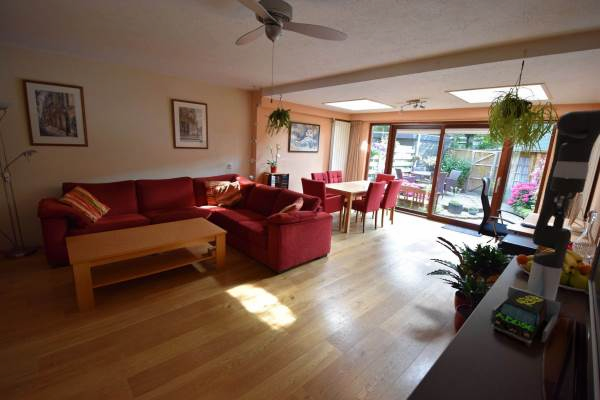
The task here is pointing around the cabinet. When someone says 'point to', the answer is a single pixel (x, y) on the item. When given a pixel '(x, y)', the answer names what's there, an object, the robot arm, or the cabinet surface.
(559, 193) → the robot arm
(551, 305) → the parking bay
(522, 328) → the toy van
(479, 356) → the cabinet surface
